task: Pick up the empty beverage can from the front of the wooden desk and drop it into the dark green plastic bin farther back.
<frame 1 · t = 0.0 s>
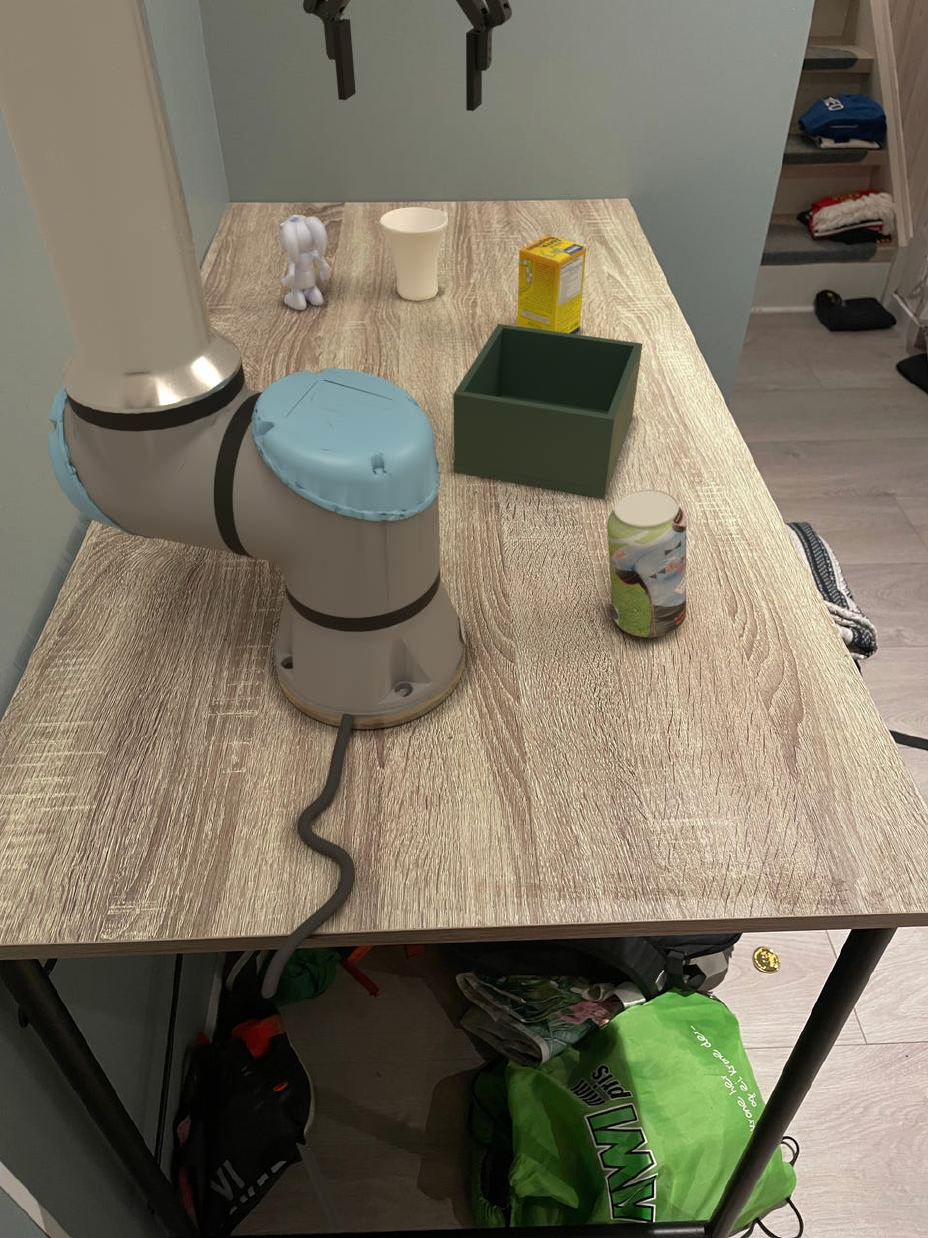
hand: (409, 101, 92), 28 cm above the table, tool pointing down, fingers open, 13 cm apart
supplement box: (547, 335, 116), on the table
toy figurine: (306, 305, 122), on the table
bin: (546, 444, 97), on the table
cup: (418, 292, 125), on the table
beverage can: (638, 621, 78), on the table
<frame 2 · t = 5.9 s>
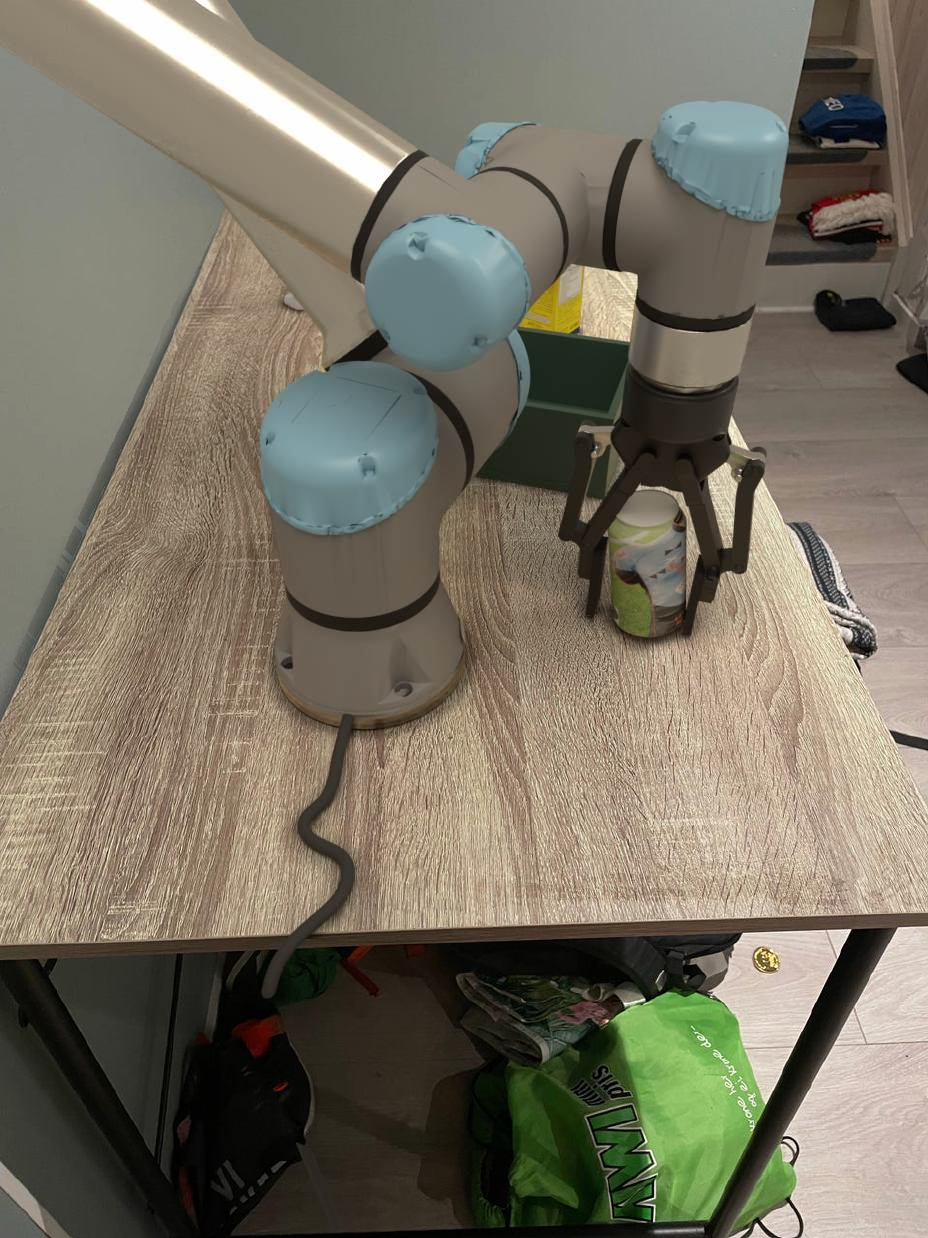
hand: (640, 614, 77), 1 cm above the table, tool pointing down, fingers closed on beverage can, 7 cm apart
beverage can: (638, 621, 78), on the table, touching gripper
everything else where it was.
when the fingers open (8 cm above the table, at t = 12.8 s): beverage can drops 6 cm, resting on bin.
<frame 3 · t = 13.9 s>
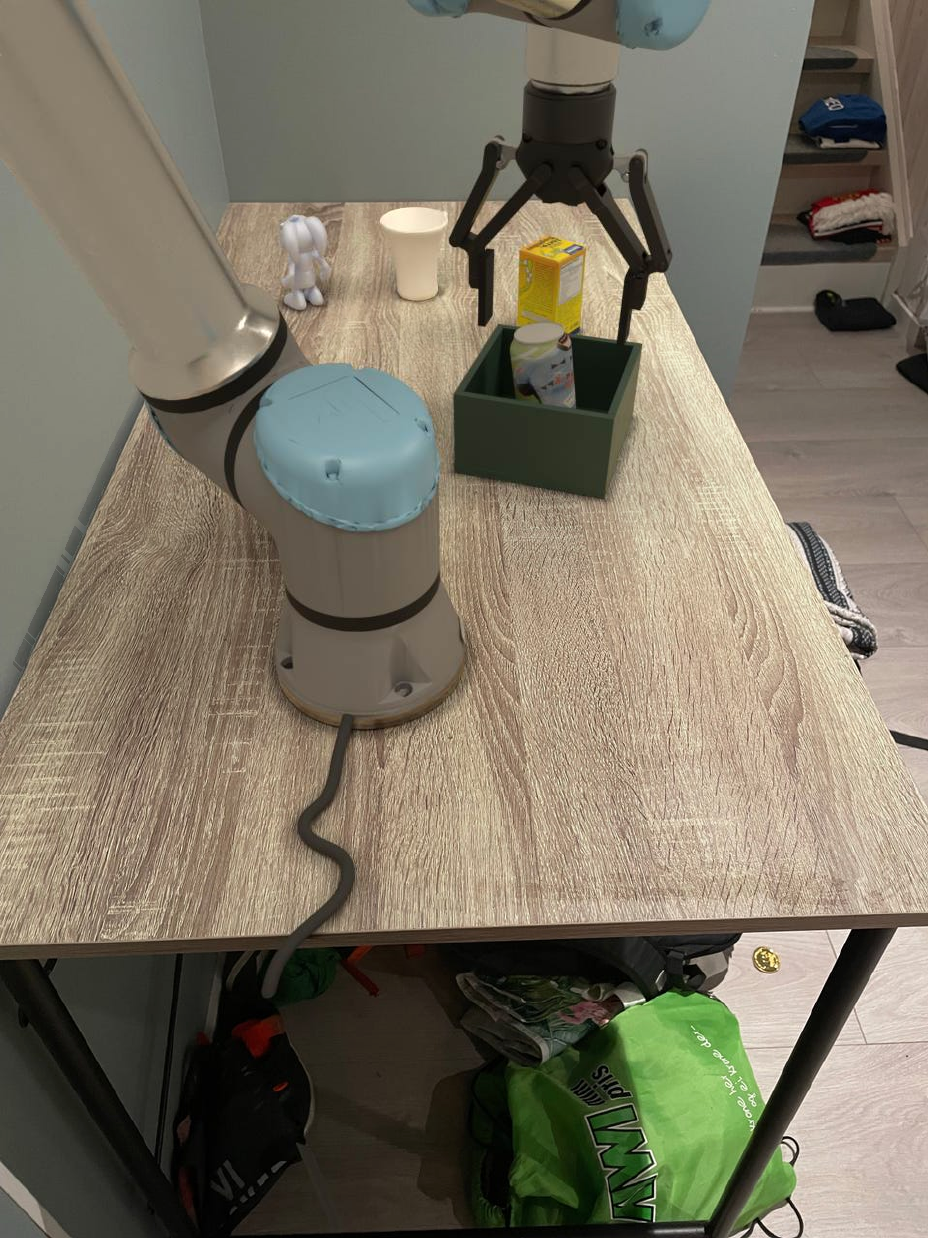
hand: (552, 330, 88), 13 cm above the table, tool pointing down, fingers open, 13 cm apart
beverage can: (541, 438, 97), point 1 cm above the table, touching bin
everything else where it was.
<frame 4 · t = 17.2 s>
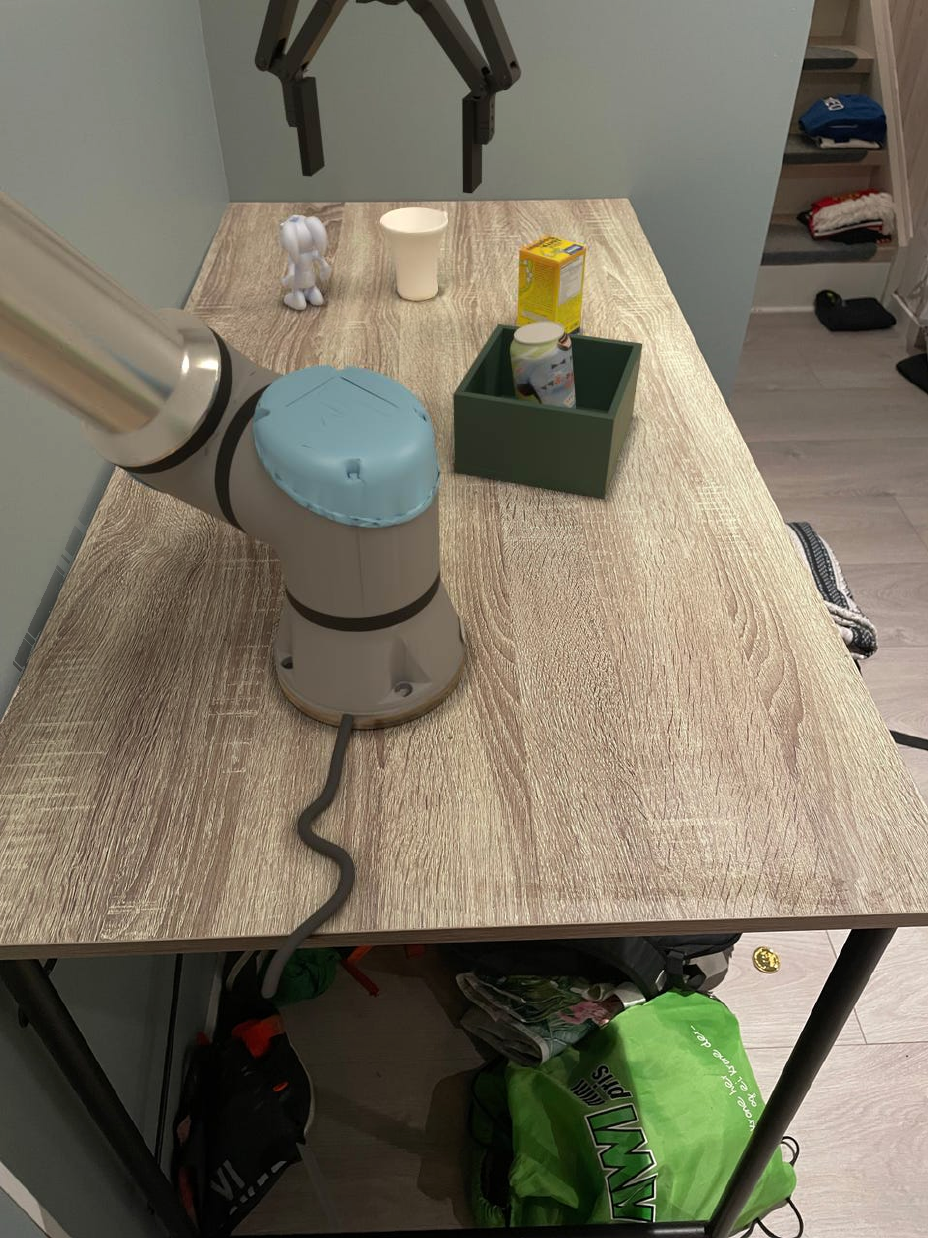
hand: (391, 179, 73), 29 cm above the table, tool pointing down, fingers open, 13 cm apart
nothing on the table moved.
at the end: beverage can inside the target area in the bin (0.5 cm from its centre), point 0.8 cm above the bin's base; the gripper is holding nothing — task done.
